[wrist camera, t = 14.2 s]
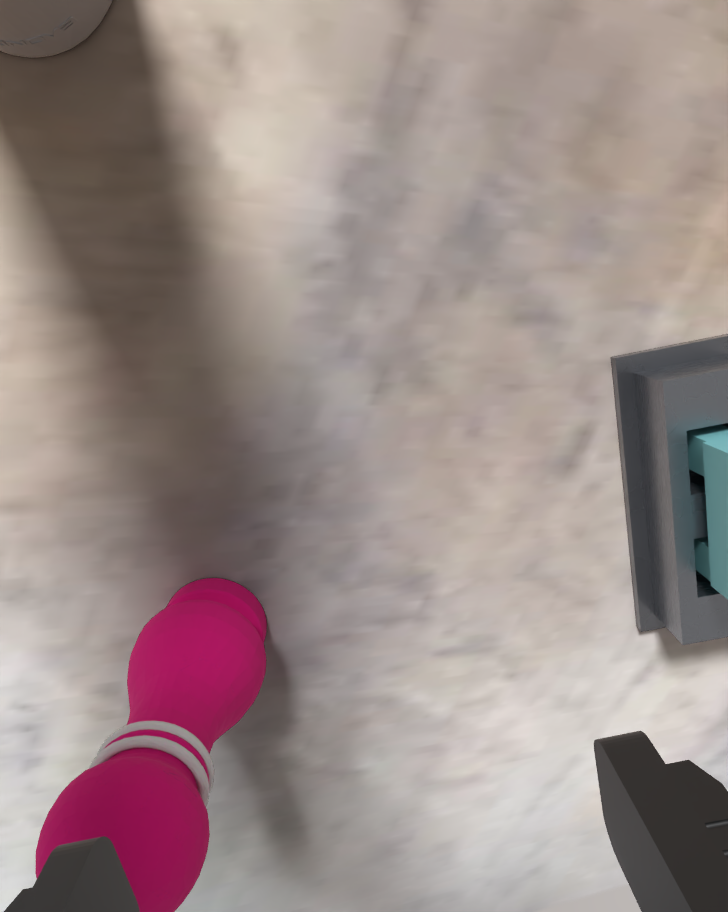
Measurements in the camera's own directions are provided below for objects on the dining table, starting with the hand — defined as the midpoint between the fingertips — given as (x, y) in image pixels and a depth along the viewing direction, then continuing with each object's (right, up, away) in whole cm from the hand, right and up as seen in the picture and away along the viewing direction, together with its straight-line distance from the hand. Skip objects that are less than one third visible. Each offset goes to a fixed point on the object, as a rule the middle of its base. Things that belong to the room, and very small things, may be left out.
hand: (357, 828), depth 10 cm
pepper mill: (-9, -4, +29) cm, 30 cm away
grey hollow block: (+19, +4, +27) cm, 33 cm away
